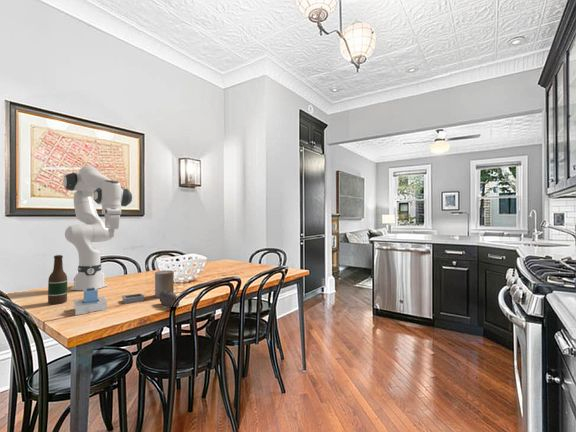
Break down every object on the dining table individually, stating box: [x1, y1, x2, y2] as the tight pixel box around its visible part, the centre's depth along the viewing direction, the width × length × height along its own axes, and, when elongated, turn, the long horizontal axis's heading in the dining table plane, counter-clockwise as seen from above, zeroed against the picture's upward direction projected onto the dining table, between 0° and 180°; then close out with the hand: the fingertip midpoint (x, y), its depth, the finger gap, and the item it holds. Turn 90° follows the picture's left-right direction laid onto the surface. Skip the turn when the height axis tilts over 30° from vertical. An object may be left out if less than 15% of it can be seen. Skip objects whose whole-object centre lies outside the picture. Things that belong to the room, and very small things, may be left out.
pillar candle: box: [154, 269, 175, 299], centre depth 170 cm, size 10×10×15 cm
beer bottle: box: [47, 254, 68, 306], centre depth 155 cm, size 8×8×24 cm
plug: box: [83, 287, 99, 303], centre depth 144 cm, size 4×5×9 cm
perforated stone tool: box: [158, 290, 180, 309], centre depth 151 cm, size 15×5×7 cm, turn 47°
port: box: [73, 296, 108, 316], centre depth 144 cm, size 12×12×4 cm
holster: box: [122, 293, 145, 305], centre depth 158 cm, size 7×9×3 cm
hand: (111, 237), depth 161 cm, fingers closed
